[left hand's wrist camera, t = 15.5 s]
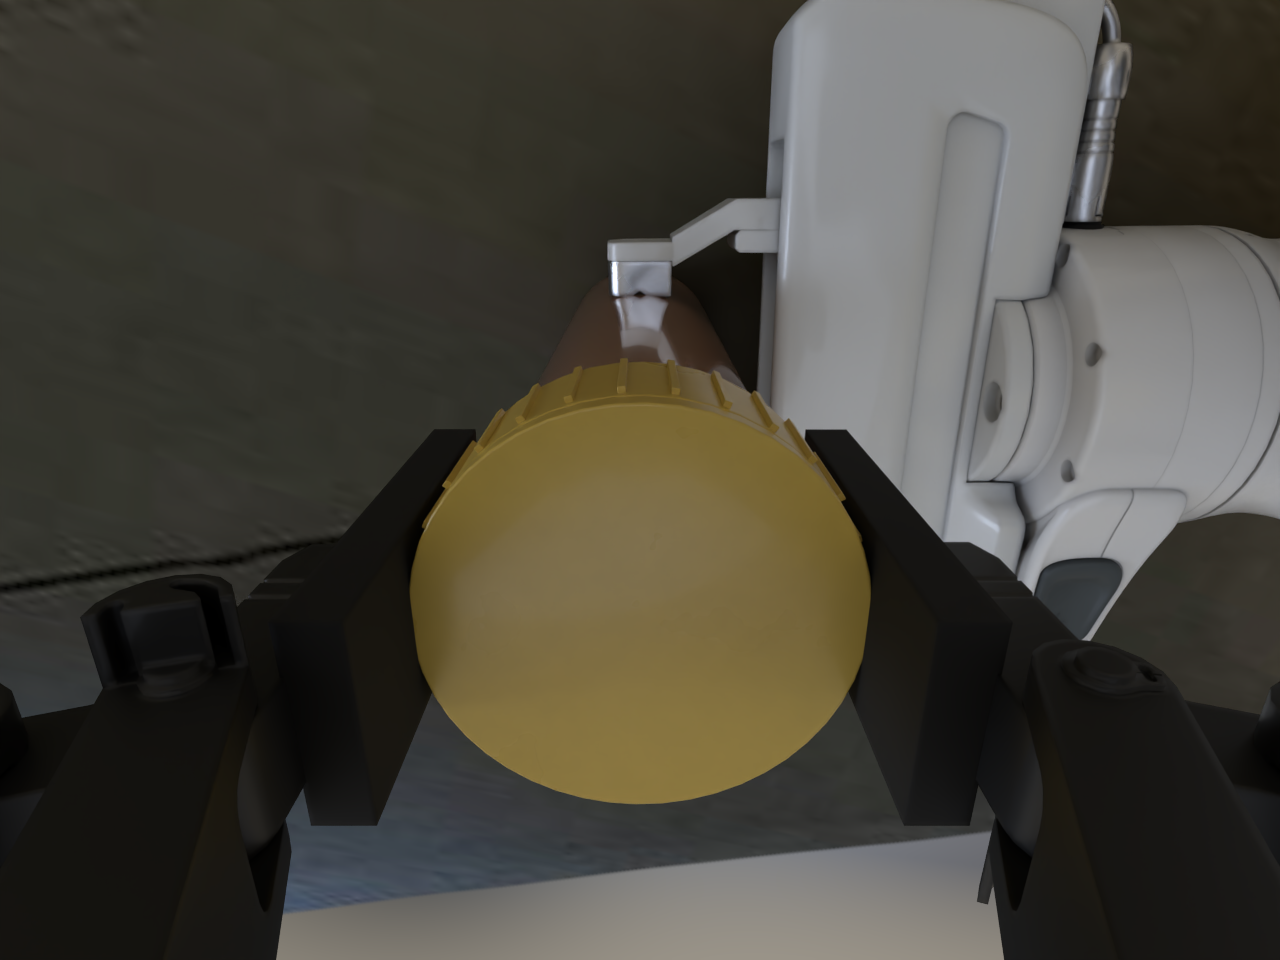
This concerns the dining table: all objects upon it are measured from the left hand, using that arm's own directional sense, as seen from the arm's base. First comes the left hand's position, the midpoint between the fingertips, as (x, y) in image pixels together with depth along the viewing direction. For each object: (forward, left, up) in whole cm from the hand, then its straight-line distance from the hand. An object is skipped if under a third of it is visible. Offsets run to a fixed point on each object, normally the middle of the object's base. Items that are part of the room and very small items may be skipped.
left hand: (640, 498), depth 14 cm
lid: (0, 0, +4) cm, 4 cm away
